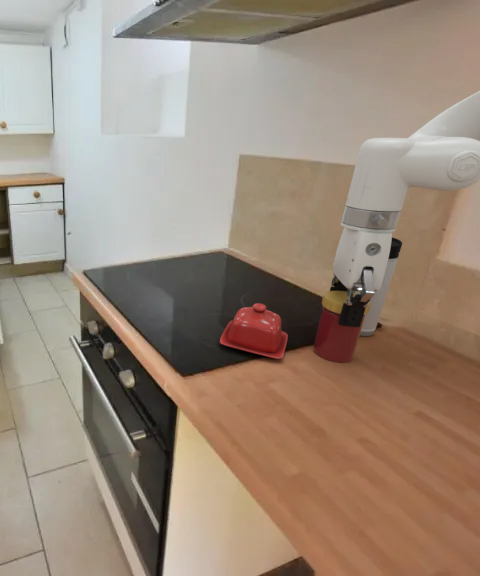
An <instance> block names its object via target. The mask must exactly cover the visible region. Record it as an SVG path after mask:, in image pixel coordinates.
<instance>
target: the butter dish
mask: <svg viewBox="0 0 480 576" xmlns="http://www.w3.org/2000/svg"><path fill="white" fill-rule="evenodd" d="M288 338H289V335H288V333H287V332H285V331H282V319H281V315H279V314H277V312H276V313H275V312H273V311H271V310H268V309H267V306H266V305H265V304H264V303H260V302H258V303H257V302H256V303H254V304H252V306H245V307H241V308H239V309H238V311H236V313H235V315H234V317H233V320H230V321H229V322H228V323H227V325H226V327H225V328H224V330H223V332H222V334H221V336H220V339H219V344H221V345H222V346H225V347H229V348H232V349H236V350H240V351H243V352H247V353H251V354H256V355H258V356H263V357H267V358H272V359H275V360H281V359H283V358H284V355H285V353H286V347H287V343H288Z"/></svg>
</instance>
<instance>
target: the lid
mask: <svg viewBox="0 0 480 576" xmlns="http://www.w3.org/2000/svg"><path fill="white" fill-rule="evenodd" d="M355 295H357V294H355V293H353V297H354V296H355ZM346 301H347V292H346V291H330V290H329V291H326V292H324V293H323V295H322V299H321V305H322V307H323V306H324V307H325V308H326V309H328V310H330V311H332V312H335V313H339V314H341V310H342V307H343V303H346ZM370 303H371V302H370V301H369V302H368V305H367V307H366V308H365V312H364V315H365V314H367V313H368V312H369V309H370Z"/></svg>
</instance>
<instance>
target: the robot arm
mask: <svg viewBox="0 0 480 576" xmlns="http://www.w3.org/2000/svg"><path fill="white" fill-rule="evenodd" d="M351 178H352V179H351V182H350V186H349V190H348V193H347V198H346V201H345V205H344V209H343V212H342V217H341V220H340V226H341V227H343V230H342V233H341V235H340V238H339V241H338V245H337V248H336V252H335V254H334V259H333V264H332V272H333V278H332V280H331V283H330V284H331V285H330V288H329V291H346V292H347V301H346V303H343V307H342V310H341V314H340V317H339V321H338V323H339V325H342V326H350V327H360V324H361V321H362V318H363V315H364V312H365V308H366V307H367V305H368V302H369V301H370V300H371V298H372V297H373V296H374V293H375V292H377V291H379V290H380V288H381V285H382V282H383V278H384V274H385V270H386V266H387V262H388V258H389V253H390V248H391V240H392V237H393V233H394V232H395V231H396V228H397V225H398V222H399V220H400V217H401V213H402V209H403V206H404V203H405V199H406V196H407V194H408V191H409V188H420V189H426V190H432V191H439V192H453V191H458V190H463V189H466V188H468V187H469V188H470V187H471V186H473V185H475V184H477V183H478V182H479V181H480V90H478V91H476V92H475V93H473V94H471V95H469V96H467V97H465V98H463V99H462V100H460V101H458V102H456V103H454V105H452V106H450V107H448V108H447V109H444V111H442V112H441V113H439V114H437V115H436V116H435V117H433V118H432V119H430V120H429V121H428V122H426V123H425V124H424V125H422V126H421V127H420V128H419V129H418V130H416V131H414V132H413V133H412V134H411V135H410V136H408V137H407V138H406V137H372V138H369V139H366V140H365V141H364V142H363V143H362V144H361V145H360V147H359V151H358V154H357V159H356V162H355V166H354V170H353V174H352V177H351ZM353 284H359V285H362V287H354V286H353ZM354 291H357V292H360V294H357V295H355V296H354V297H353V292H354Z"/></svg>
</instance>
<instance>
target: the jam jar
mask: <svg viewBox="0 0 480 576" xmlns="http://www.w3.org/2000/svg"><path fill="white" fill-rule="evenodd" d="M339 317H340V314H339V313H335V312H332V311H330V310H328V309H326V308H325V307H324V306H323V305H322V308H321V312H320V316H319V320H318V325H317V330H316V333H315V337H314V342H313V346H312V351H313V353H314V354H315V355H317V356H318V357H320V358H322V359H324V360H326V361H330V362H333V363H349V362H352V361H353V360H354V357H355V353H356V349H357V346H358V342H359V339H360V337H361V336H360V332H361V329H362V325H363V322H364V318H365V315H363V318H362V321H361V324H360V327H350V326H342V325H339V323H338V321H339Z"/></svg>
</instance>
